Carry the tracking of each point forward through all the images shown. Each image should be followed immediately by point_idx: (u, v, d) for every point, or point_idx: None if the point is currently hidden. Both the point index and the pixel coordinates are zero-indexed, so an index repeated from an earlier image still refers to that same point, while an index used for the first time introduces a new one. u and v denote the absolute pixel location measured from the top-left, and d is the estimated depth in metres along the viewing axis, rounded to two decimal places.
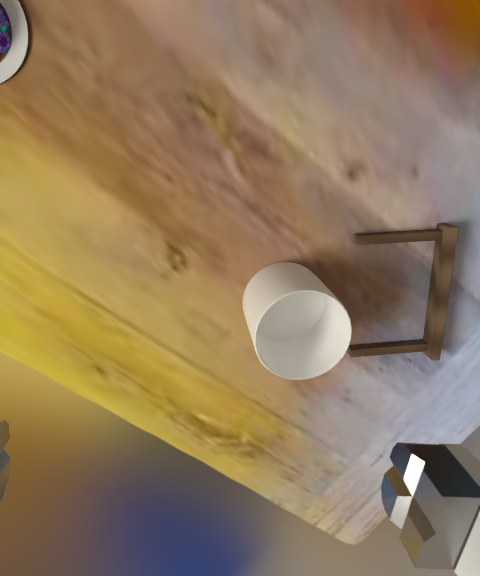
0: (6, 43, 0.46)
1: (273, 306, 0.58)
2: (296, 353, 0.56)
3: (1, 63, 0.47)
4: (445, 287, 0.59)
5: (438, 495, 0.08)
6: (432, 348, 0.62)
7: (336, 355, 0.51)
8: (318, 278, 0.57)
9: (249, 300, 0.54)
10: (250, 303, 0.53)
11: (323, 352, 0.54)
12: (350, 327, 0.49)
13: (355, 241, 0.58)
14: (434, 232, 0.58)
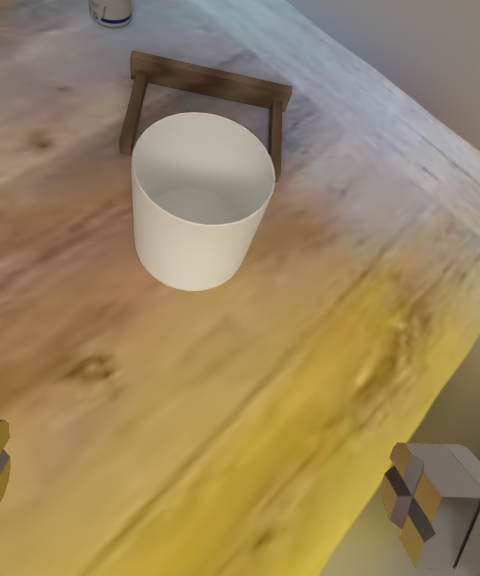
0: None
1: None
2: None
3: None
4: (201, 70, 0.51)
5: (439, 494, 0.08)
6: (277, 91, 0.53)
7: (246, 140, 0.37)
8: None
9: (165, 261, 0.37)
10: (165, 255, 0.37)
11: (249, 169, 0.39)
12: (203, 114, 0.36)
13: (128, 150, 0.47)
14: (136, 76, 0.51)
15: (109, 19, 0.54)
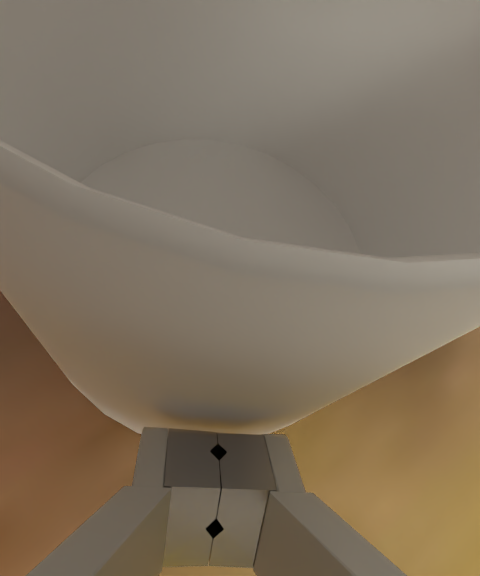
0: None
1: None
2: (421, 194, 0.12)
3: None
4: None
5: (221, 486, 0.07)
6: None
7: None
8: None
9: (114, 399, 0.09)
10: (110, 389, 0.08)
11: (414, 33, 0.11)
12: None
13: None
14: None
15: None
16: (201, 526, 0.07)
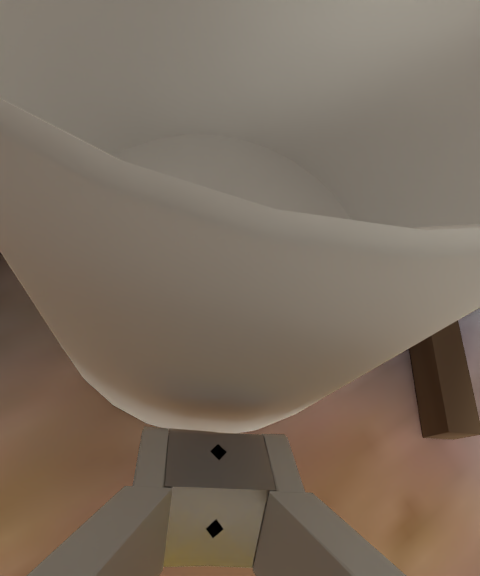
0: None
1: None
2: (423, 184, 0.12)
3: None
4: None
5: (220, 486, 0.07)
6: None
7: None
8: None
9: (128, 386, 0.09)
10: (125, 375, 0.08)
11: (415, 26, 0.11)
12: None
13: None
14: None
15: None
16: (202, 526, 0.07)
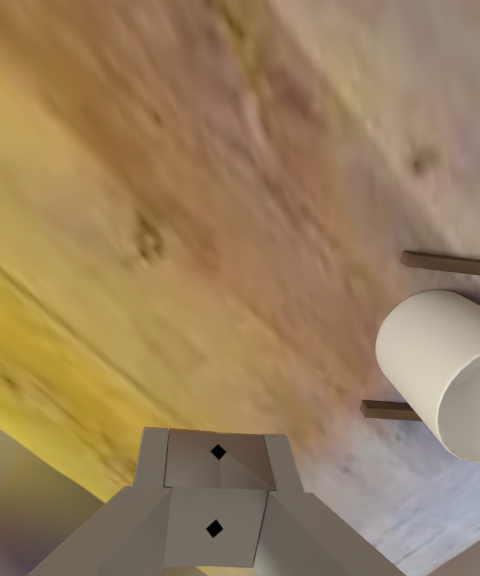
0: None
1: None
2: (450, 417, 0.41)
3: None
4: None
5: (220, 485, 0.07)
6: None
7: None
8: None
9: (407, 337, 0.39)
10: (412, 342, 0.38)
11: None
12: None
13: (403, 261, 0.41)
14: None
15: None
16: (202, 526, 0.07)
